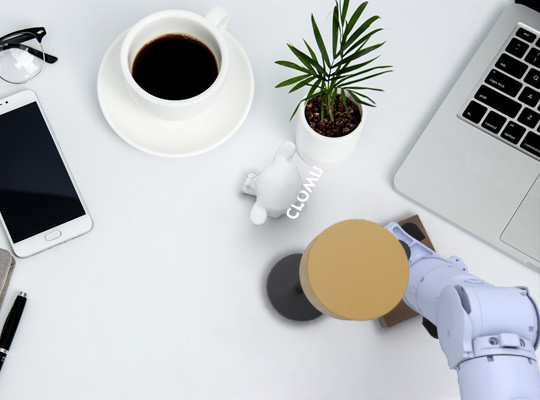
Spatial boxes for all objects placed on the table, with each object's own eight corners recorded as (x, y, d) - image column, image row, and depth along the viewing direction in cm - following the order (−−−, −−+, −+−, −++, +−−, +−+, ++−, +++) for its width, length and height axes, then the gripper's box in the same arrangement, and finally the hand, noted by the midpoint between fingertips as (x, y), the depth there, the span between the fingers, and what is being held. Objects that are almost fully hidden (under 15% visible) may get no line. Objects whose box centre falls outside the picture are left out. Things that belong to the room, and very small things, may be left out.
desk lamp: (343, 305, 83) (510, 292, 36) (271, 335, 82) (343, 361, 35) (316, 244, 84) (440, 153, 37) (245, 273, 84) (280, 218, 37)
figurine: (233, 225, 87) (298, 249, 83) (214, 208, 80) (285, 233, 75) (265, 150, 89) (331, 170, 85) (250, 126, 82) (321, 146, 77)
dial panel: (450, 299, 82) (459, 298, 79) (382, 327, 82) (388, 328, 79) (410, 217, 84) (418, 213, 81) (344, 244, 84) (348, 242, 81)
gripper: (527, 332, 58) (470, 298, 71) (437, 209, 58) (396, 198, 71) (464, 374, 59) (419, 333, 72) (374, 253, 58) (346, 234, 72)
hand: (404, 268), depth 72 cm, fingers open, 7 cm apart
